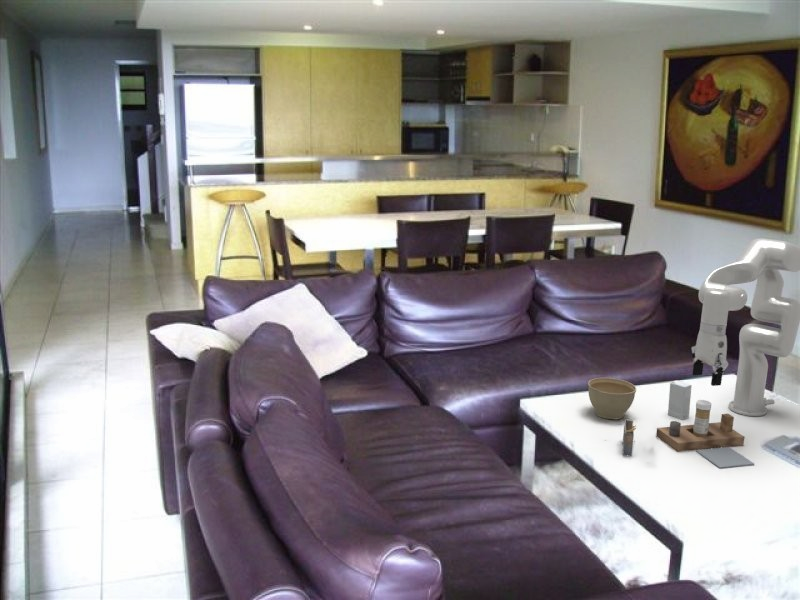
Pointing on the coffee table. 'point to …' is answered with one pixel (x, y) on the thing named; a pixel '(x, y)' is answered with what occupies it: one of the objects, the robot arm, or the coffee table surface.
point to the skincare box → (679, 399)
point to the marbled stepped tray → (628, 437)
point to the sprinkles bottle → (702, 418)
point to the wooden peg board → (716, 437)
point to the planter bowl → (611, 397)
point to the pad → (724, 457)
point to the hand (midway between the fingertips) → (706, 379)
